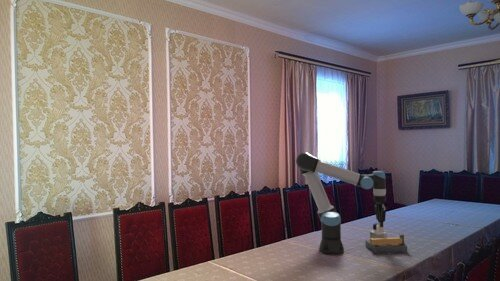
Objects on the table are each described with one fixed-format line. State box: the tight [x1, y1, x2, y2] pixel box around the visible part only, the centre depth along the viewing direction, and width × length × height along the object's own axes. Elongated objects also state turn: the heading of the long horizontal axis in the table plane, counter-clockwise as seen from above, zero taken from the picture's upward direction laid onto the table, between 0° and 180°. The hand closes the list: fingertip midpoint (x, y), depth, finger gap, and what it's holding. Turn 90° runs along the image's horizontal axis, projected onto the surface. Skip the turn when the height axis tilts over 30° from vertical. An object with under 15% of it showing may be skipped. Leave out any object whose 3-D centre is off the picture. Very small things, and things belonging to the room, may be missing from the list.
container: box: [369, 222, 388, 239], centre depth 231 cm, size 8×8×13 cm
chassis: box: [365, 239, 408, 255], centre depth 217 cm, size 21×15×4 cm
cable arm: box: [369, 233, 405, 245], centre depth 214 cm, size 21×4×5 cm, turn 94°
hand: (381, 231), depth 222 cm, fingers closed
